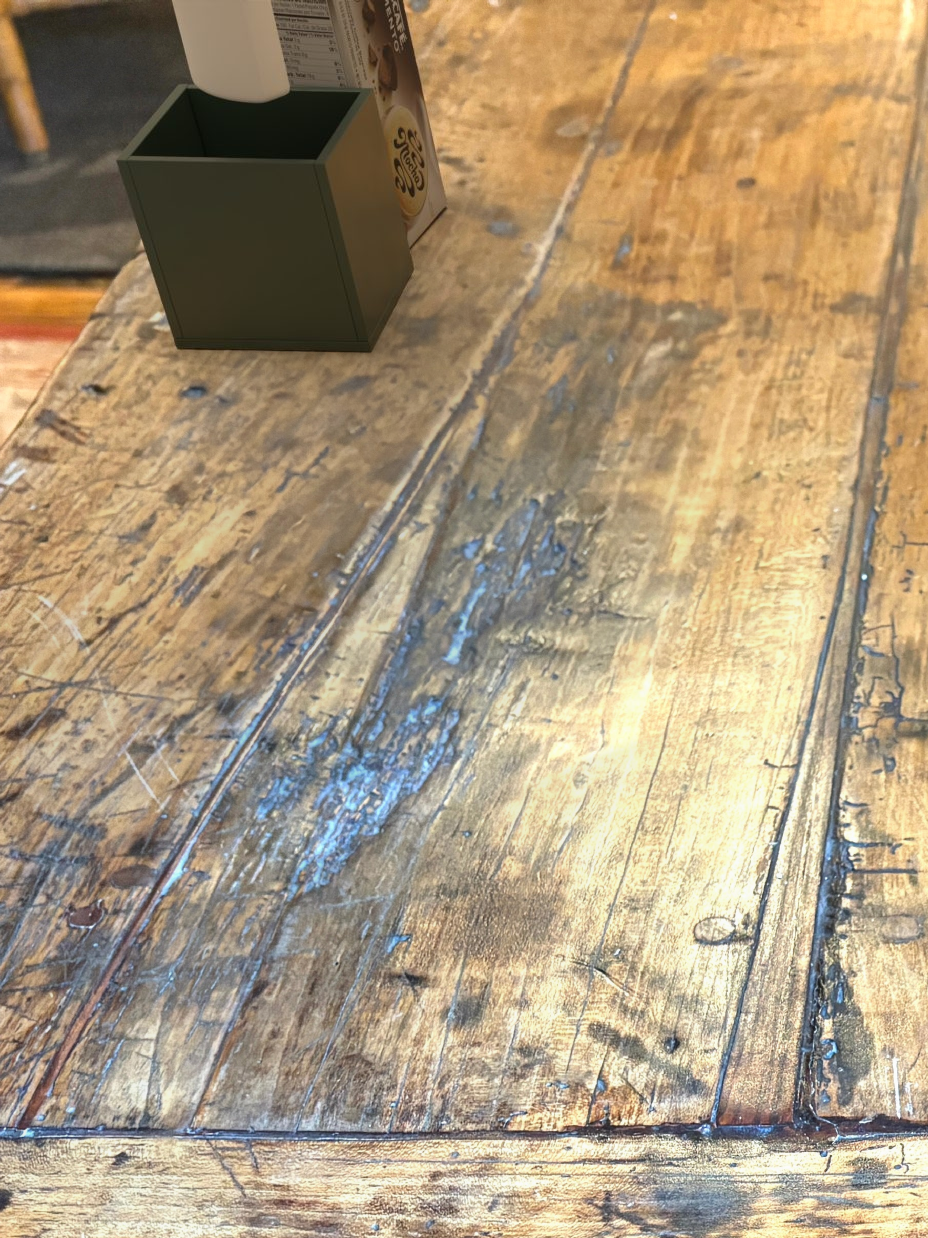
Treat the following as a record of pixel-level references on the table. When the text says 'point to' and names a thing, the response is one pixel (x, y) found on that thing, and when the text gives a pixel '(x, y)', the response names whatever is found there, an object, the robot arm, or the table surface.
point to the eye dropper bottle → (233, 48)
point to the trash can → (269, 219)
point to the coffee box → (370, 85)
